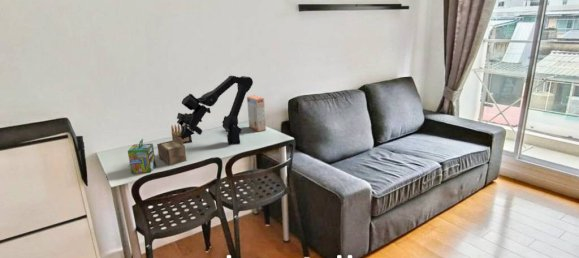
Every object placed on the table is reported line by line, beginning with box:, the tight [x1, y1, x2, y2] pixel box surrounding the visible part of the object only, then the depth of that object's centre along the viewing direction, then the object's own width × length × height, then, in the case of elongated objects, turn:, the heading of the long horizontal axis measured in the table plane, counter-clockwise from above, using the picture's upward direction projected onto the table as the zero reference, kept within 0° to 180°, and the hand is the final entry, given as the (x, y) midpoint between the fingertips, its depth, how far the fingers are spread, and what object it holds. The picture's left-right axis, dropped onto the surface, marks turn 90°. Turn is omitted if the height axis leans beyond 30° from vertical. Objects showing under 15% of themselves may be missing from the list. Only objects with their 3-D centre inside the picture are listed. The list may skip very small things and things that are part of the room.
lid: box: [161, 135, 184, 149], centre depth 173 cm, size 8×11×4 cm
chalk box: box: [127, 138, 157, 174], centre depth 162 cm, size 9×9×15 cm
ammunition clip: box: [170, 123, 193, 145], centre depth 198 cm, size 11×2×12 cm, turn 116°
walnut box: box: [156, 139, 187, 167], centre depth 174 cm, size 9×13×8 cm
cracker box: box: [246, 94, 267, 133], centre depth 220 cm, size 14×6×21 cm, turn 30°
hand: (179, 140), depth 176 cm, fingers closed, pressing on lid
